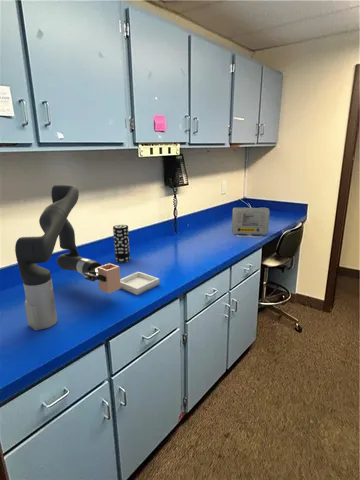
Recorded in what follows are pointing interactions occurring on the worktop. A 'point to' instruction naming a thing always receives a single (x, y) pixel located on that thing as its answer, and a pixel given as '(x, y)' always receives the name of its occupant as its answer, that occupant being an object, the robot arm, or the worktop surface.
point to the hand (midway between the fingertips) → (112, 276)
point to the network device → (250, 221)
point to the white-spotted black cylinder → (121, 243)
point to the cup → (109, 277)
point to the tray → (138, 282)
